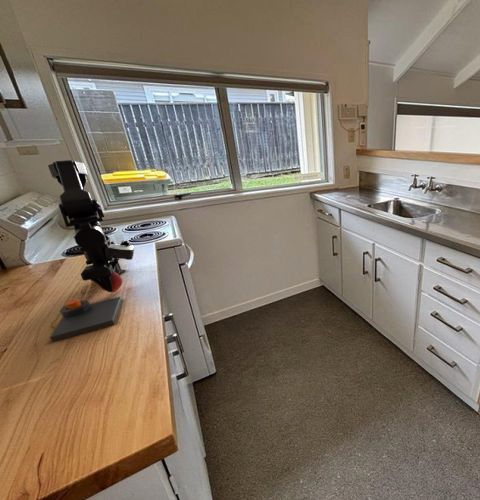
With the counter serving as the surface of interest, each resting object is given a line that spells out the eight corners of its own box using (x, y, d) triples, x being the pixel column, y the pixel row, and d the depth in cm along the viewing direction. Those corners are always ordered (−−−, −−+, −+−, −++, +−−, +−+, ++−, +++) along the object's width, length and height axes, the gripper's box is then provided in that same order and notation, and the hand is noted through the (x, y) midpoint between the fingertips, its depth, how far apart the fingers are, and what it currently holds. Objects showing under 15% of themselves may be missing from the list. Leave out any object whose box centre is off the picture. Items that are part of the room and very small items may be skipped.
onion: (122, 285, 92) (114, 263, 89) (128, 290, 89) (119, 267, 86) (100, 293, 88) (90, 270, 85) (105, 298, 85) (95, 275, 82)
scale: (68, 313, 79) (63, 304, 78) (122, 300, 84) (119, 291, 83) (50, 342, 67) (44, 332, 66) (114, 324, 73) (110, 314, 72)
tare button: (69, 306, 77) (67, 300, 77) (82, 303, 79) (80, 297, 78) (66, 311, 75) (63, 305, 74) (80, 307, 76) (77, 302, 76)
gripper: (122, 243, 78) (140, 292, 84) (130, 227, 93) (145, 270, 99) (69, 252, 73) (93, 304, 79) (87, 234, 88) (105, 278, 94)
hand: (112, 287), depth 88 cm, fingers closed on onion, 6 cm apart
